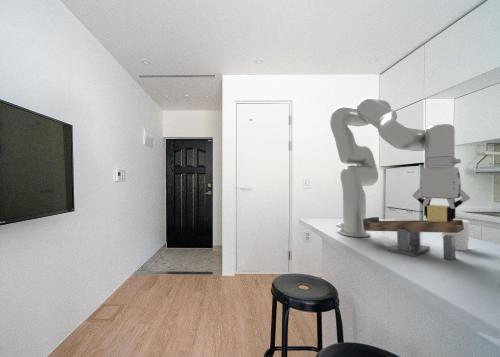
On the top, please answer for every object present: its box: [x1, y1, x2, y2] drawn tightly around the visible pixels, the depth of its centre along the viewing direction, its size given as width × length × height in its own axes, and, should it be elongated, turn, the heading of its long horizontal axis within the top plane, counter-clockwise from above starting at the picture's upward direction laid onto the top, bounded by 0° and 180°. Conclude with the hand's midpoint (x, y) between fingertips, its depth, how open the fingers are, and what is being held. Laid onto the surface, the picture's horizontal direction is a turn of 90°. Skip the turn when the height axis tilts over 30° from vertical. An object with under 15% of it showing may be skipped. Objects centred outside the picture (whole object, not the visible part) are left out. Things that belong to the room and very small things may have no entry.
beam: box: [363, 216, 464, 233], centre depth 83 cm, size 28×8×5 cm, turn 37°
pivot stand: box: [387, 228, 431, 258], centre depth 82 cm, size 8×14×8 cm, turn 127°
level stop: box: [442, 235, 456, 261], centre depth 74 cm, size 2×4×7 cm, turn 127°
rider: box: [426, 204, 451, 222], centre depth 76 cm, size 5×5×5 cm
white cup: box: [441, 218, 471, 251], centre depth 86 cm, size 8×8×10 cm
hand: (439, 219), depth 76 cm, fingers closed on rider, 5 cm apart
